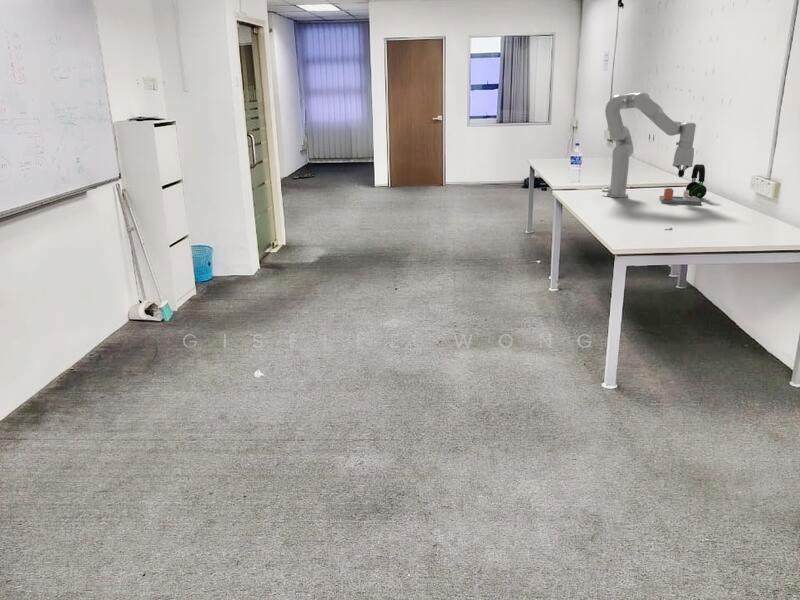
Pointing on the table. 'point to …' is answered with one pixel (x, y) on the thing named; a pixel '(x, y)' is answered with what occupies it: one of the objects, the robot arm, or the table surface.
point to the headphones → (695, 187)
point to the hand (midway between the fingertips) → (680, 176)
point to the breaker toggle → (686, 193)
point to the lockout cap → (668, 194)
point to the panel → (682, 200)
